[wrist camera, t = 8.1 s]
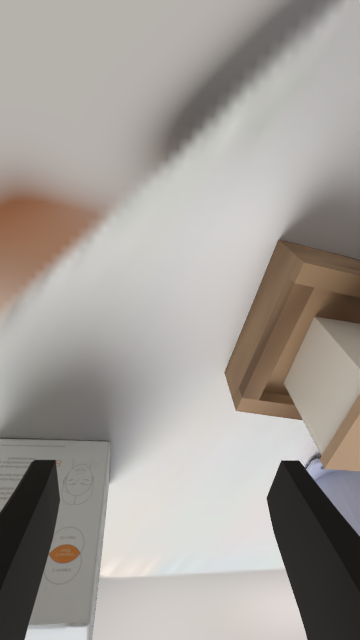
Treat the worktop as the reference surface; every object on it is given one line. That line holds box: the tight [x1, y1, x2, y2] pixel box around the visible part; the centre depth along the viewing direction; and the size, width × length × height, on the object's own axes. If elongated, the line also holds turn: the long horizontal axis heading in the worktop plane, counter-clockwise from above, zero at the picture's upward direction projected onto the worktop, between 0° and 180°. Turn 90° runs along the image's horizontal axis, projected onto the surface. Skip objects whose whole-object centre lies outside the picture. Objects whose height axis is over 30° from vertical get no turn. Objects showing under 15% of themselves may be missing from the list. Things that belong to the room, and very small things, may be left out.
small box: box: [0, 439, 110, 640], centre depth 20 cm, size 8×6×10 cm
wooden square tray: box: [225, 240, 360, 420], centre depth 19 cm, size 9×9×4 cm
